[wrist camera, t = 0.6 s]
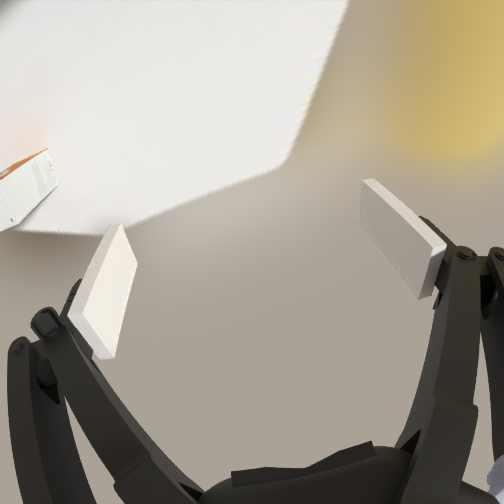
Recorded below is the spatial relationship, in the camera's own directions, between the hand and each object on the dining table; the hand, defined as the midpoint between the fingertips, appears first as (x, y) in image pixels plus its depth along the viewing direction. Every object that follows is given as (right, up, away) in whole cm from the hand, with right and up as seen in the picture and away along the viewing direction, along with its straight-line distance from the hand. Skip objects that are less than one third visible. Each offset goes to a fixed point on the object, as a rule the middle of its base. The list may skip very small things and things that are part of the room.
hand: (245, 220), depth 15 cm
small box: (-33, +11, +20) cm, 41 cm away
